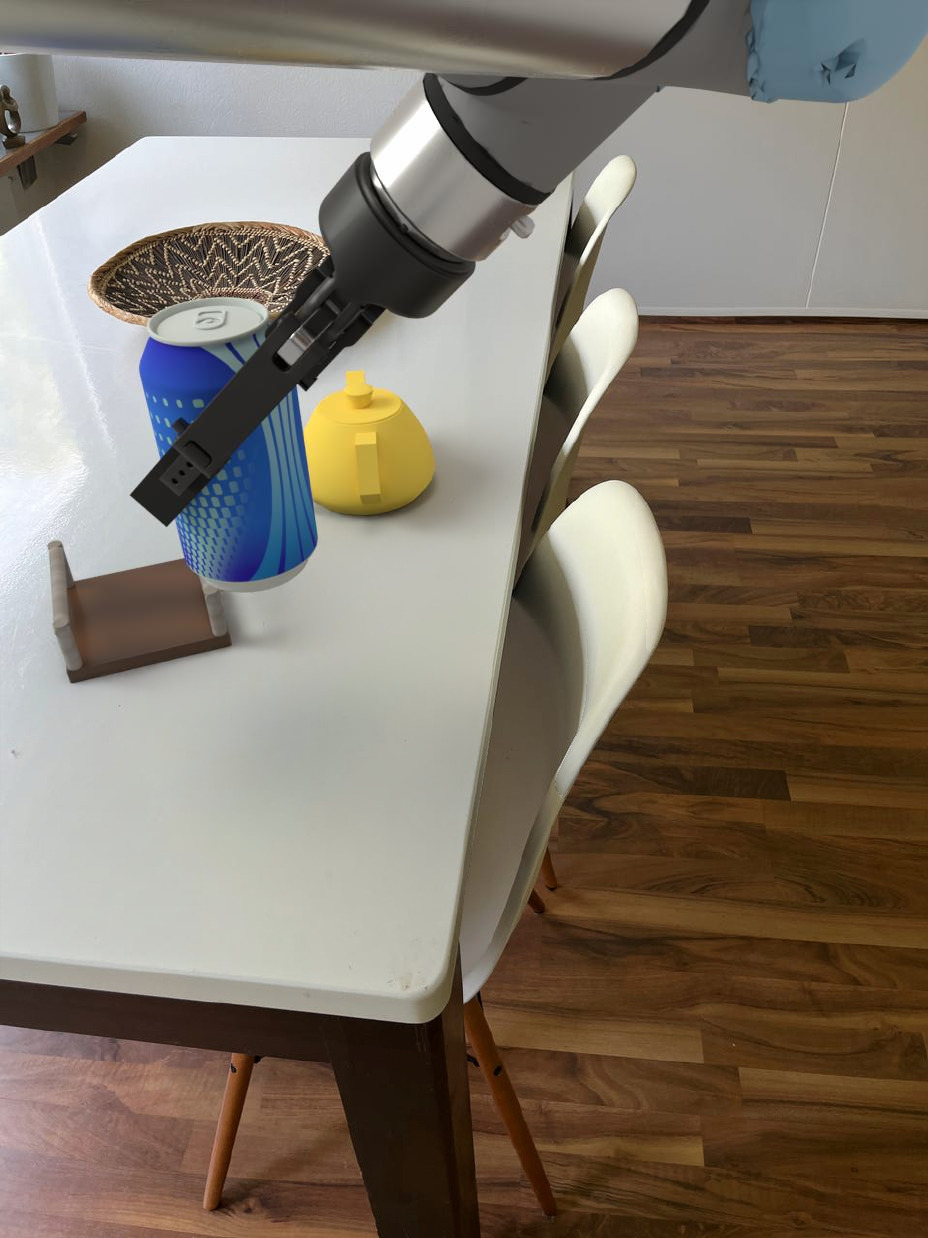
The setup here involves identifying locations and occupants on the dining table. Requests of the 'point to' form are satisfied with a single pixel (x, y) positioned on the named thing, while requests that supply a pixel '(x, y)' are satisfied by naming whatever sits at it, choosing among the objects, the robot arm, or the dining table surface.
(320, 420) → the teapot
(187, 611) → the rail rack
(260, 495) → the beer can
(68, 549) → the dining table surface
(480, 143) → the robot arm
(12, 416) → the dining table surface
